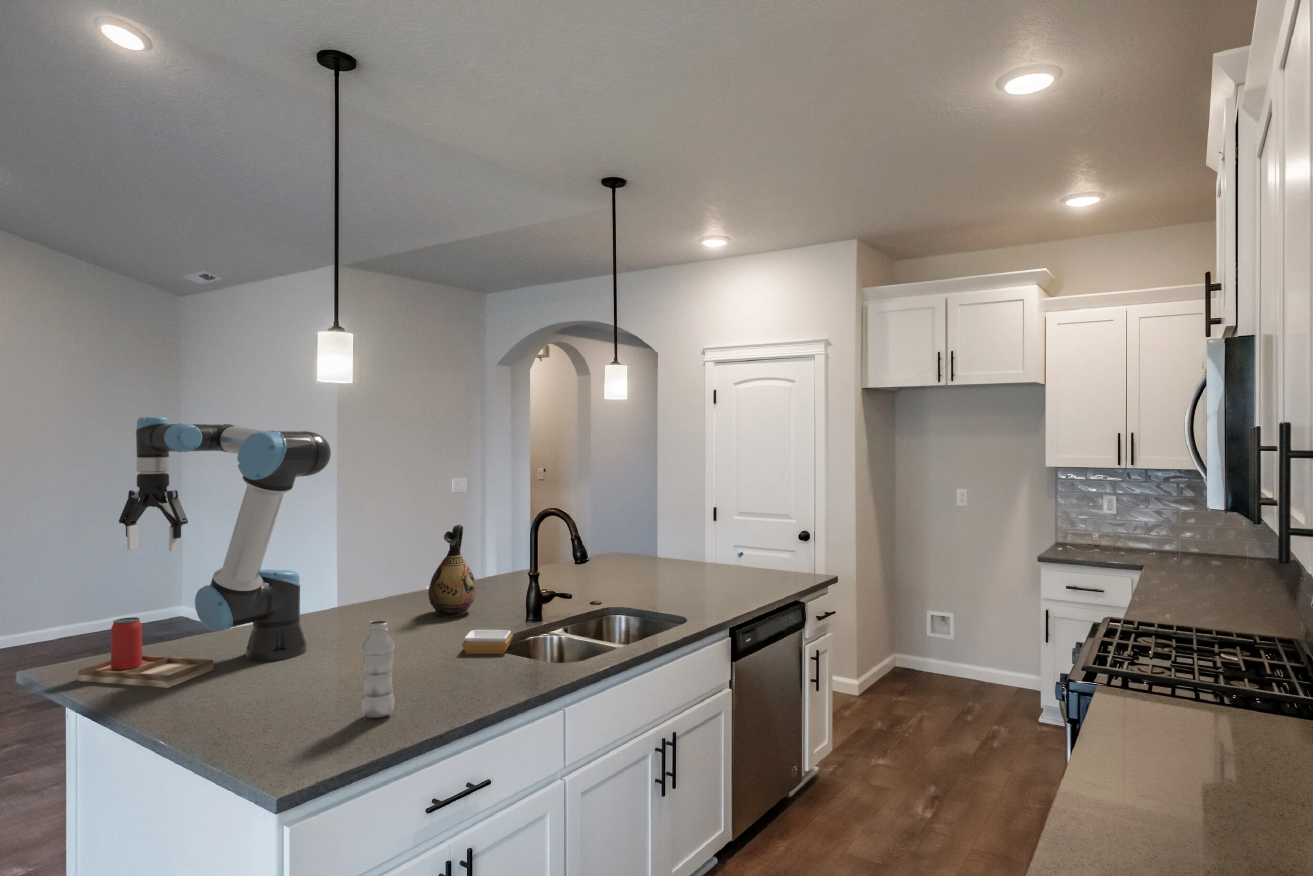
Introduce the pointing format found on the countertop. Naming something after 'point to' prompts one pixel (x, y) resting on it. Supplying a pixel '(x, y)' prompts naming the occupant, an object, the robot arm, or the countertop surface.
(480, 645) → the soap dish
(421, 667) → the countertop surface
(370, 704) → the plastic bottle
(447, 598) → the ceramic jug
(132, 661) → the beer can
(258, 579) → the robot arm
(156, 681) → the caddy tray
